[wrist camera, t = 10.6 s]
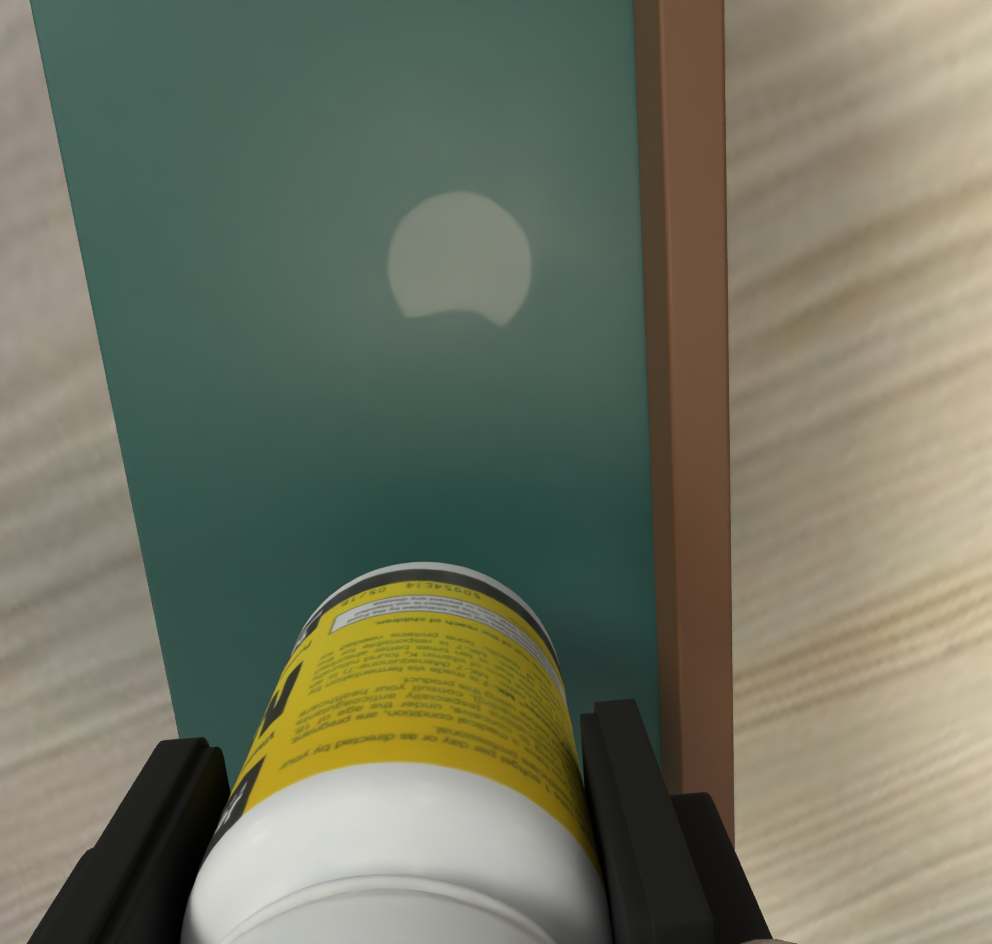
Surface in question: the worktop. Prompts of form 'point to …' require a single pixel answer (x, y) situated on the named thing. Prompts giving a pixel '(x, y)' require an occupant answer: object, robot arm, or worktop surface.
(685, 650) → the shelf
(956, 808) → the worktop surface
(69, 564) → the worktop surface
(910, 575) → the worktop surface
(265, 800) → the supplement bottle
